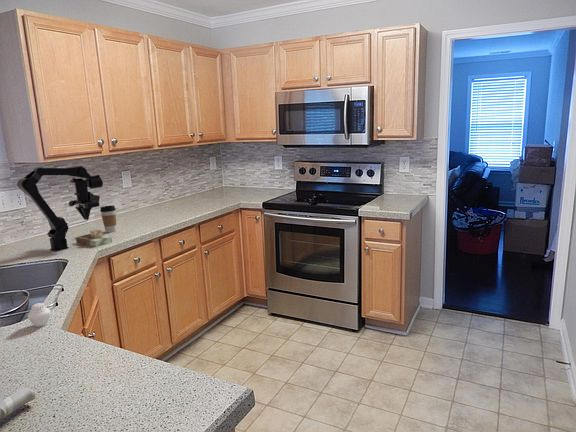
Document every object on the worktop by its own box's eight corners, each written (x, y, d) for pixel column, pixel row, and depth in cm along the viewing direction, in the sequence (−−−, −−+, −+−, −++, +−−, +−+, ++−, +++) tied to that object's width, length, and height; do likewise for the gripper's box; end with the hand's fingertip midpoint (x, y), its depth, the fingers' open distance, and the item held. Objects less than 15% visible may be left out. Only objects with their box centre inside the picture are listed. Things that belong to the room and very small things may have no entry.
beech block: (95, 239, 223) (94, 231, 222) (91, 238, 225) (89, 230, 224) (102, 237, 226) (101, 229, 225) (98, 236, 228) (97, 229, 228)
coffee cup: (102, 233, 246) (98, 208, 243) (104, 230, 254) (100, 205, 251) (118, 232, 249) (114, 206, 245) (119, 228, 257) (115, 204, 253)
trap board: (96, 246, 219) (95, 241, 219) (76, 243, 229) (75, 237, 229) (112, 242, 227) (111, 236, 226) (92, 238, 237) (91, 233, 236)
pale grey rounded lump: (55, 319, 136) (51, 298, 135) (48, 327, 131) (44, 306, 129) (34, 321, 136) (30, 300, 134) (26, 330, 130) (21, 308, 128)
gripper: (106, 188, 226) (110, 217, 229) (86, 187, 236) (90, 215, 239) (86, 192, 217) (91, 222, 220) (66, 190, 227) (71, 219, 230)
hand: (86, 219), depth 228 cm, fingers closed
